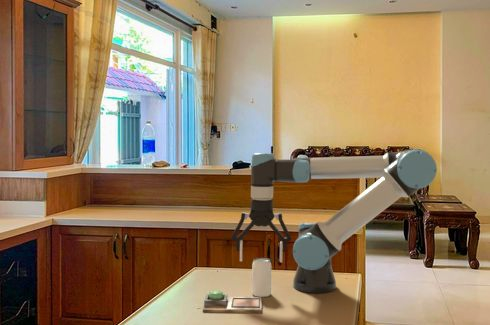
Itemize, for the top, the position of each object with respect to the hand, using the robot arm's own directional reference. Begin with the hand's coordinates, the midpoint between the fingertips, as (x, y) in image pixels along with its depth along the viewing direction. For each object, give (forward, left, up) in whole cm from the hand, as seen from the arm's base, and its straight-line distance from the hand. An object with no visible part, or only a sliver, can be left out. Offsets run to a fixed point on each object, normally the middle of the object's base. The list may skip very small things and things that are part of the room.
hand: (260, 261), depth 173 cm
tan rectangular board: (+9, +12, -12) cm, 19 cm away
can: (0, 0, -12) cm, 12 cm away
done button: (+14, +12, -9) cm, 21 cm away
